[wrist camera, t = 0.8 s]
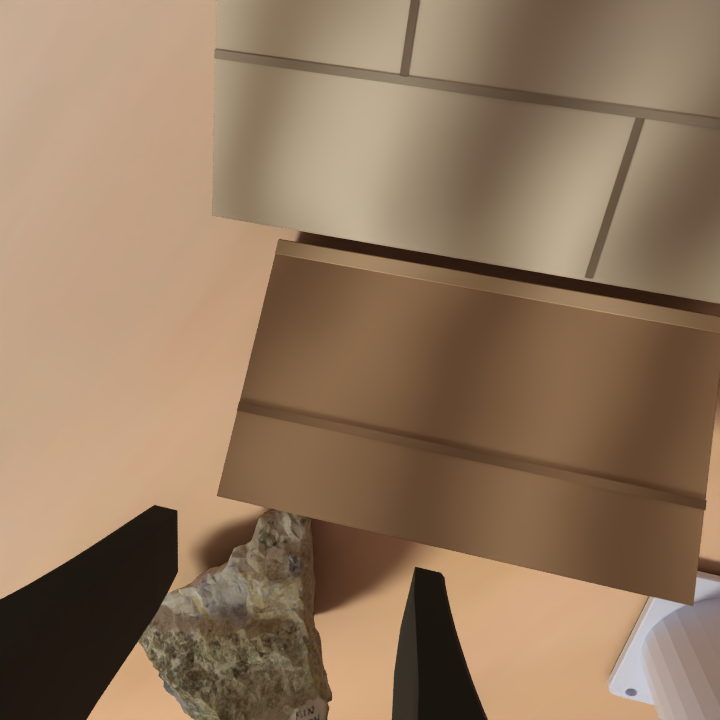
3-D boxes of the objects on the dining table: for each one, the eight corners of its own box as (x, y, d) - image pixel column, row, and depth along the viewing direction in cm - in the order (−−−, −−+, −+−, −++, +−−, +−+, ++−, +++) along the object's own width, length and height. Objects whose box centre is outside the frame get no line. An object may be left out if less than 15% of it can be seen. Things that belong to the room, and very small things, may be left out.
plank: (701, 327, 18) (727, 316, 17) (669, 593, 17) (694, 606, 15) (287, 253, 20) (278, 238, 18) (230, 492, 18) (216, 496, 17)
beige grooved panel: (969, -56, 14) (1024, -77, 12) (789, 307, 18) (815, 320, 16) (239, -129, 16) (218, -154, 14) (228, 211, 20) (211, 215, 18)
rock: (289, 496, 23) (332, 774, 18) (354, 510, 28) (401, 732, 23) (110, 564, 27) (107, 811, 22) (195, 566, 32) (208, 768, 27)
